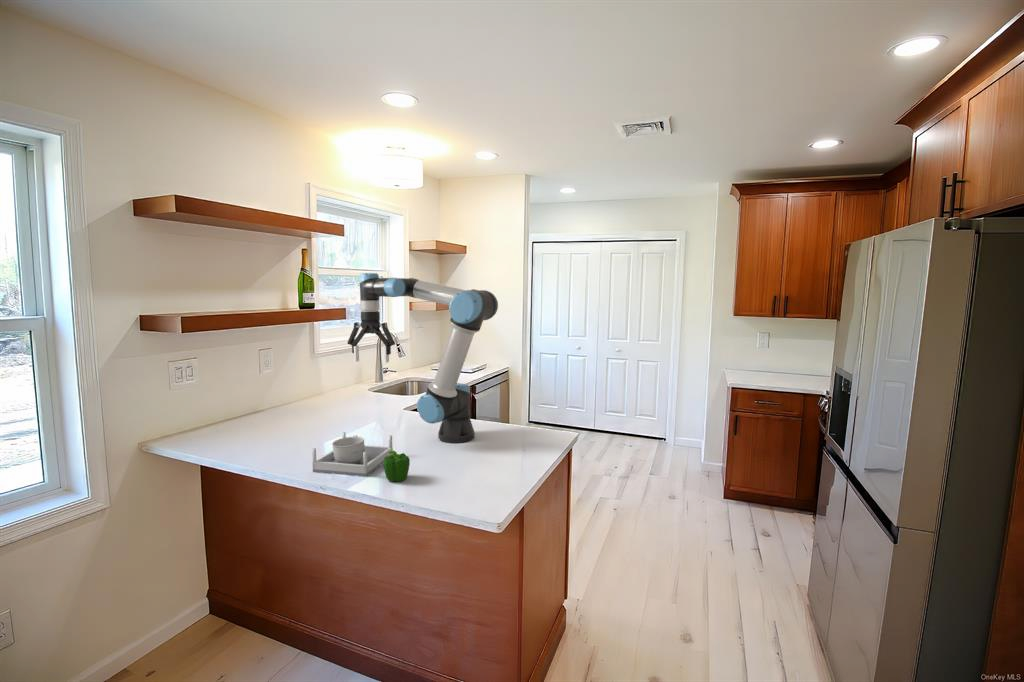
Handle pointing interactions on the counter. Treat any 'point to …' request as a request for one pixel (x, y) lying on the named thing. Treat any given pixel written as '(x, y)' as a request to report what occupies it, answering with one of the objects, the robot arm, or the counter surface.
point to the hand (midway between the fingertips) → (371, 361)
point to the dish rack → (364, 467)
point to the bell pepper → (396, 466)
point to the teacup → (349, 449)
